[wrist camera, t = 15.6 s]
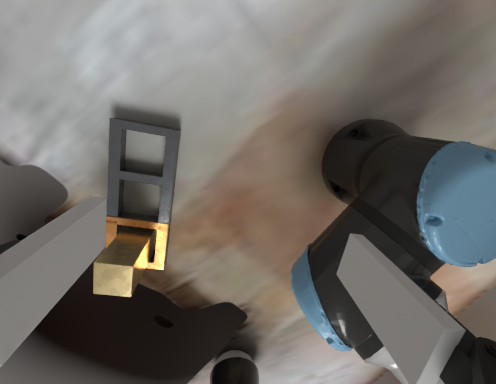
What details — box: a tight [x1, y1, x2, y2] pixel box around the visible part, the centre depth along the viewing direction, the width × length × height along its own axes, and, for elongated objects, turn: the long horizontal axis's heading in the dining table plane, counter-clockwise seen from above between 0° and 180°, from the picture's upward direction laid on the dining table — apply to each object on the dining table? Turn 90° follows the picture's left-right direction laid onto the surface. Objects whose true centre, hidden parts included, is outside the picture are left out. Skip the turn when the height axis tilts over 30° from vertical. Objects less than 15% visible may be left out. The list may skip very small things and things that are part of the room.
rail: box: [106, 118, 181, 270], centre depth 43 cm, size 10×25×2 cm, turn 169°
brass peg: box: [93, 226, 156, 297], centre depth 41 cm, size 5×5×12 cm
